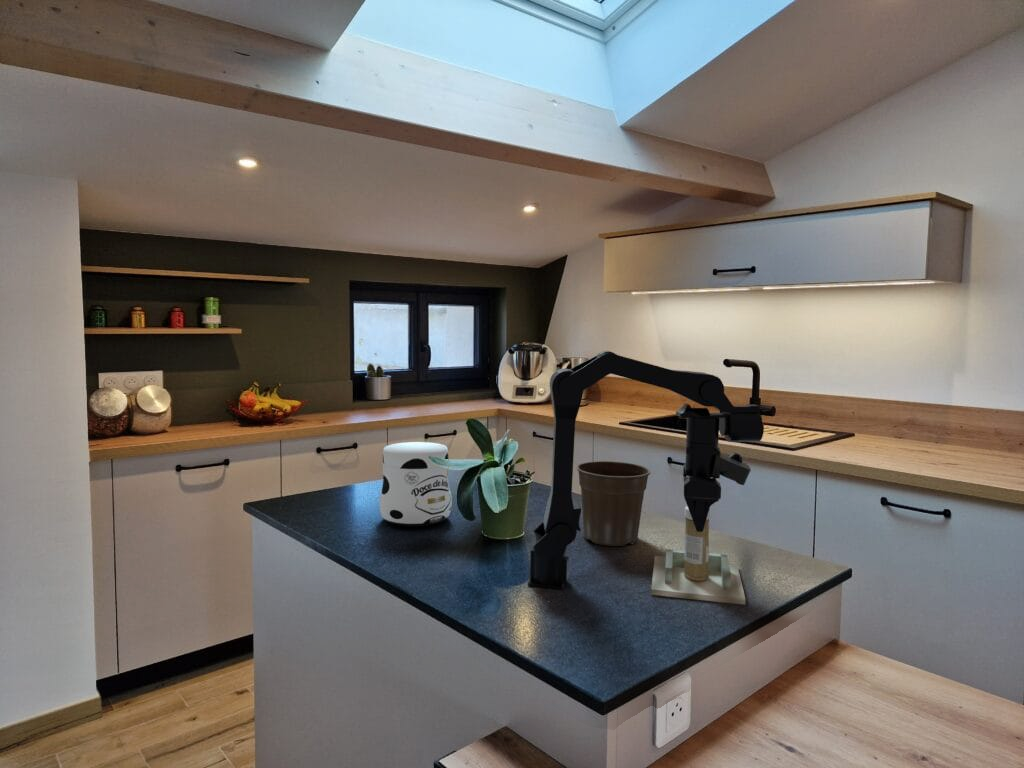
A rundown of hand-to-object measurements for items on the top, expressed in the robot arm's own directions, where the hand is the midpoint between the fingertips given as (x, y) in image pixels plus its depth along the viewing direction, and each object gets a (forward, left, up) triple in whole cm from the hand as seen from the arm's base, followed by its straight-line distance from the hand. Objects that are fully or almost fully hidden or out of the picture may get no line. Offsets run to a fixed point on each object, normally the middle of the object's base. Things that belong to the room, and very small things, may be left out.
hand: (699, 524), depth 126 cm
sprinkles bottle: (0, 0, -10) cm, 10 cm away
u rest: (0, 0, -11) cm, 11 cm away
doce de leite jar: (-65, +22, -12) cm, 70 cm away
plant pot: (-18, +22, -12) cm, 31 cm away
